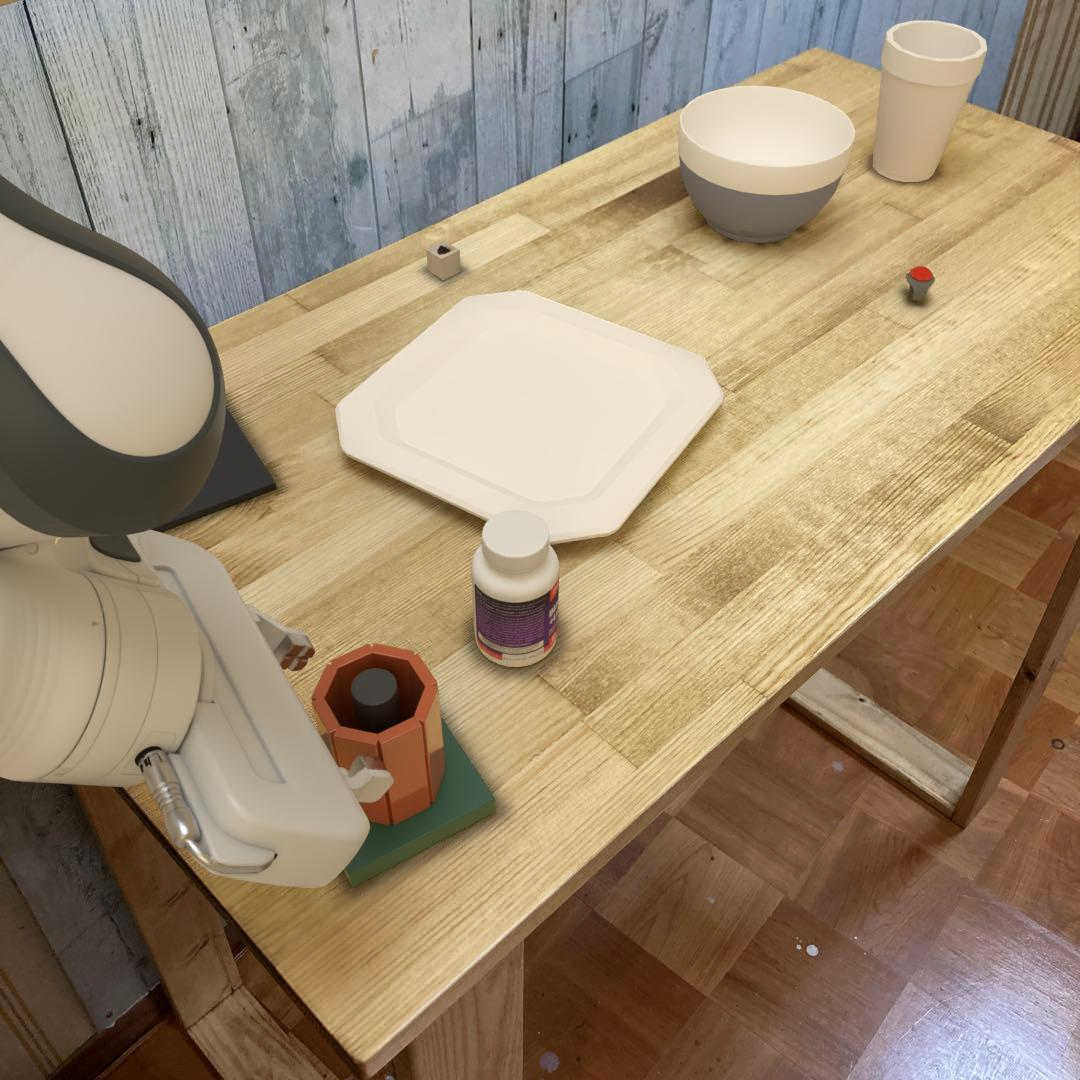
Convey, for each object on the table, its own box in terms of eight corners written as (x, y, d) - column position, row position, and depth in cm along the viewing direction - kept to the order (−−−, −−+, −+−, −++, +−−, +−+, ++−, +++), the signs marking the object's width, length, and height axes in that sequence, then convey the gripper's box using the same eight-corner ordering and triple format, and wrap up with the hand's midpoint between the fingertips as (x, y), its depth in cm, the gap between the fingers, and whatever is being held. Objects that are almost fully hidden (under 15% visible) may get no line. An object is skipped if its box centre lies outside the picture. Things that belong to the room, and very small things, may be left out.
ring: (926, 290, 101) (935, 262, 99) (930, 307, 100) (939, 278, 98) (898, 289, 102) (906, 260, 99) (901, 305, 100) (910, 276, 98)
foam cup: (838, 163, 117) (865, 36, 108) (894, 136, 122) (925, 12, 112) (912, 199, 112) (948, 70, 103) (968, 170, 117) (1007, 43, 107)
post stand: (352, 888, 61) (329, 790, 54) (287, 765, 67) (259, 662, 59) (496, 812, 65) (492, 710, 57) (423, 701, 70) (412, 595, 63)
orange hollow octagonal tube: (362, 842, 62) (345, 761, 56) (315, 758, 65) (295, 675, 59) (461, 791, 64) (455, 708, 58) (412, 713, 68) (401, 628, 62)
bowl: (721, 278, 102) (735, 181, 96) (640, 195, 112) (648, 102, 106) (867, 241, 107) (891, 146, 100) (777, 165, 117) (793, 73, 110)
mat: (114, 549, 79) (112, 543, 78) (67, 450, 86) (65, 444, 85) (276, 488, 83) (275, 482, 83) (219, 398, 90) (217, 392, 90)
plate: (586, 584, 77) (587, 562, 75) (305, 451, 86) (301, 429, 84) (743, 391, 91) (747, 369, 90) (489, 295, 100) (488, 273, 99)
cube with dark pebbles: (461, 271, 103) (459, 247, 101) (443, 280, 102) (441, 256, 100) (445, 262, 104) (444, 238, 102) (427, 271, 103) (425, 246, 101)
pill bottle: (567, 660, 72) (572, 556, 65) (485, 677, 71) (481, 574, 64) (544, 598, 76) (547, 493, 69) (466, 613, 75) (460, 509, 68)
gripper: (235, 815, 42) (474, 824, 53) (76, 485, 54) (297, 547, 64) (146, 928, 43) (395, 914, 54) (10, 584, 55) (237, 628, 66)
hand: (340, 713), depth 59 cm, fingers open, 8 cm apart
